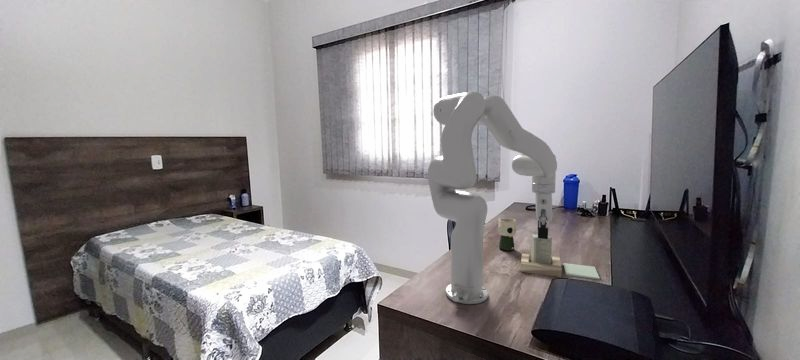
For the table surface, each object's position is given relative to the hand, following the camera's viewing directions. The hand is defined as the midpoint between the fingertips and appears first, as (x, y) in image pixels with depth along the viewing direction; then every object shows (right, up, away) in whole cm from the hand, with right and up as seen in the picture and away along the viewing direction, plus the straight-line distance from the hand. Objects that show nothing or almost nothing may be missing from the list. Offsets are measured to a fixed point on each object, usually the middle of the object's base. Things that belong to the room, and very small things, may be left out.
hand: (542, 234), depth 113 cm
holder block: (0, -12, +1) cm, 12 cm away
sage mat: (+12, -13, -3) cm, 18 cm away
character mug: (-6, -10, +21) cm, 24 cm away
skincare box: (0, -13, +1) cm, 13 cm away
